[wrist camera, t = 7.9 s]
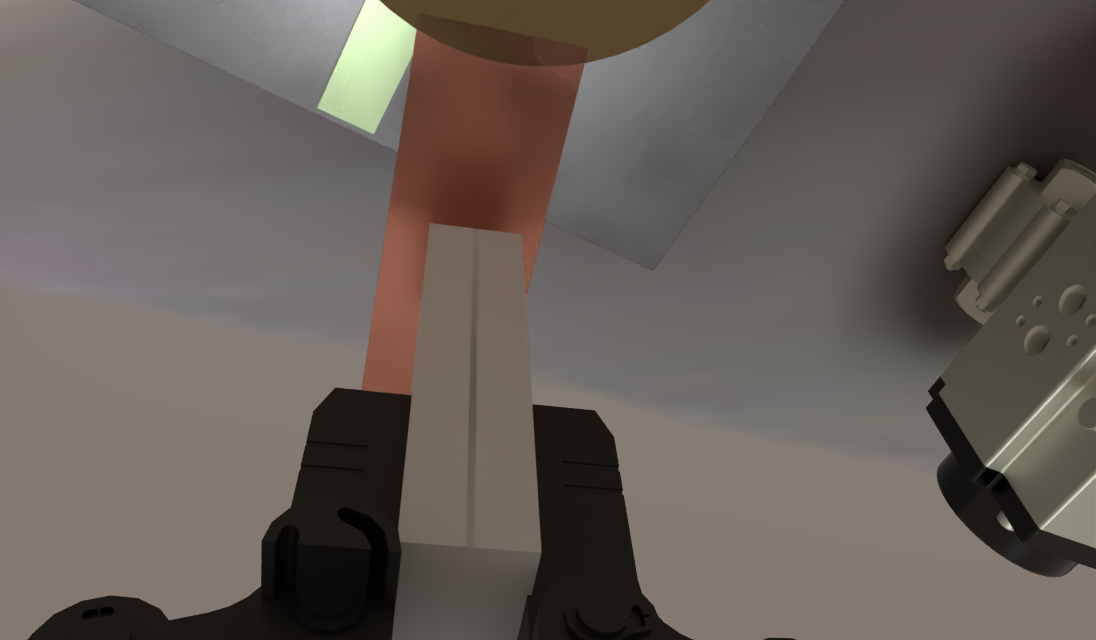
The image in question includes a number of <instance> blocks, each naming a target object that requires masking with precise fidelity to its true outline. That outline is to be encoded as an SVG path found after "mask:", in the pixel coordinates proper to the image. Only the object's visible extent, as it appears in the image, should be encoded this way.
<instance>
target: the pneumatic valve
mask: <svg viewBox="0 0 1096 640" xmlns="http://www.w3.org/2000/svg"><path fill="white" fill-rule="evenodd" d="M1036 174H1037V171H1036V170H1035V169H1034V168H1033V167H1031V166H1030V165H1028V164H1026V163H1024V162H1020V163H1019V164H1018V165H1017V167H1014V168H1013V167H1010V166H1008V167H1007V168H1006V169H1005V171H1004V172H1003V173H1002V175H1001V176H1000V177H999V178H998V180H997V181H996V182H995V184H994V185H993V186H992V187H991V189H990V190H989V191H988V192H987V194H986V195H985V196H984V198H983V199H982V200H981V201H980V203H979V204H978V205H977V207H976V208H975V209H974V210H973V212H972V213H971V214H970V216H969V217H968V218H967V219H966V221H965V222H964V223H963V224H962V226H961V227H960V228H959V230H958V231H957V232H956V233H955V235H954V236H953V237H952V239H951V240H950V241H949V242H948V244H947V245H946V246H945V249H946V251H947V255H946V257H945V258H944V262H945V267H946V268H947V269H948V270H950V271H953V270H954V269H955V270H960V268H961V267H963V269H964V270H965V271H966V273H967V276H966V277H965V278H964V279H963V281H962V282H961V283H960V284H959V285H958V287H957V289H956V291H955V294H954V298H955V301H956V302H957V304H958V305H959V306H960V307H961V308H962V309H963V310H964V311H965V312H966V313H967V314H968V315H970V316H971V317H972V318H973V319H975V320H976V321H978V322H979V323H980V324H982V325H983V327H982V328H981V329H980V330H979V331H978V332H977V334H976V335H975V336H974V337H973V338H972V339H971V341H970V342H969V343H968V344H967V345H966V347H965V348H964V349H963V350H962V351H961V352H960V354H959V355H958V356H957V357H956V358H955V360H954V361H953V362H952V363H951V364H950V365H949V367H948V368H947V369H946V370H945V371H944V373H943V374H942V375H941V376H940V377H939V378H938V380H937V381H936V382H935V383H934V384H933V385H932V387H931V388H930V389H929V390H928V392H929V394H930V395H931V397H932V398H933V400H932V401H931V402H930V403H929V405H928V406H927V407H926V410H927V411H928V413H929V415H930V416H931V418H932V420H933V421H934V423H935V425H936V426H937V428H938V430H939V431H940V433H941V435H942V436H943V438H944V440H945V441H946V443H947V445H948V446H949V448H950V450H951V453H950V454H949V455H948V456H947V457H946V458H945V459H944V460H943V461H942V462H941V464H940V465H939V467H938V470H937V481H938V484H939V487H940V490H941V492H942V494H943V496H944V498H945V499H946V501H947V503H948V504H949V506H950V507H951V508H952V510H953V511H954V512H955V514H956V515H957V516H958V517H959V518H960V520H961V521H962V522H963V523H964V524H965V525H966V526H967V527H968V528H969V529H970V530H971V531H972V532H973V533H974V534H975V535H976V536H977V537H978V538H979V539H980V540H982V541H983V542H984V543H985V544H986V545H988V546H989V547H990V548H991V549H993V550H994V551H996V552H997V553H999V554H1000V555H1001V556H1003V557H1005V558H1006V559H1007V560H1009V561H1011V562H1012V563H1014V564H1016V565H1018V566H1020V567H1022V568H1023V569H1025V570H1028V571H1030V572H1033V573H1035V574H1039V575H1042V576H1047V577H1061V576H1064V575H1066V574H1068V573H1069V572H1070V571H1071V570H1072V569H1073V568H1074V567H1075V566H1076V565H1077V564H1082V565H1085V566H1088V567H1092V568H1094V569H1096V173H1095V172H1093V171H1091V170H1089V169H1088V168H1086V167H1084V166H1082V165H1080V164H1078V163H1076V162H1074V161H1071V160H1069V159H1062V160H1060V161H1059V162H1058V163H1057V164H1056V166H1055V167H1054V168H1053V169H1052V171H1051V172H1050V173H1049V174H1048V176H1047V177H1046V178H1045V179H1044V180H1043V182H1039V181H1037V180H1035V179H1034V178H1033V177H1034V176H1035V175H1036Z"/></svg>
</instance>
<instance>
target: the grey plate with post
mask: <svg viewBox="0 0 1096 640" xmlns="http://www.w3.org/2000/svg"><path fill="white" fill-rule="evenodd" d="M73 1H76V2H78V3H80V4H82V5H84V6H86V7H88V8H91V9H93V10H95V11H97V12H99V13H101V14H103V15H106V16H108V17H110V18H112V19H114V20H116V21H118V22H121V23H123V24H125V25H127V26H129V27H131V28H133V29H136V30H138V31H140V32H142V33H144V34H146V35H148V36H151V37H153V38H155V39H157V40H159V41H161V42H163V43H166V44H168V45H170V46H172V47H174V48H176V49H178V50H181V51H183V52H185V53H187V54H189V55H191V56H193V57H196V58H198V59H200V60H202V61H204V62H206V63H208V64H211V65H213V66H215V67H217V68H219V69H221V70H223V71H225V72H228V73H230V74H232V75H234V76H236V77H238V78H240V79H243V80H245V81H247V82H249V83H251V84H253V85H255V86H258V87H260V88H262V89H264V90H266V91H268V92H270V93H273V94H275V95H277V96H279V97H281V98H283V99H285V100H288V101H290V102H292V103H294V104H296V105H298V106H300V107H303V108H305V109H307V110H309V111H311V112H313V113H315V114H318V115H320V116H322V117H324V118H326V119H328V120H330V121H333V122H335V123H337V124H339V125H341V126H343V127H345V128H348V129H350V130H352V131H354V132H356V133H358V134H360V135H363V136H365V137H367V138H369V139H371V140H373V141H375V142H378V143H380V144H382V145H384V146H386V147H388V148H390V149H393V150H395V151H397V152H398V147H399V141H400V134H401V128H402V121H403V115H404V108H405V101H406V95H407V88H408V82H409V75H410V69H411V62H412V56H413V49H414V42H415V36H416V29H415V28H414V27H412V26H411V25H410V24H408V23H407V22H406V21H404V20H403V19H401V18H400V17H399V16H397V15H396V14H395V13H393V12H392V11H391V10H389V9H388V8H387V7H386V6H385V5H384V4H383V3H382V2H381V1H380V0H73ZM844 1H845V0H710V1H709V2H708V3H706V4H705V5H704V6H703V7H702V8H701V9H700V10H699V11H698V12H696V13H695V14H693V15H692V16H691V17H689V18H688V19H686V20H685V21H684V22H682V23H681V24H679V25H678V26H676V27H675V28H674V29H672V30H670V31H669V32H667V33H665V34H663V35H661V36H659V37H658V38H656V39H654V40H652V41H650V42H648V43H646V44H645V45H642V46H639V47H637V48H634V49H632V50H629V51H627V52H624V53H622V54H619V55H616V56H612V57H609V58H605V59H601V60H597V61H593V62H589V63H585V65H584V69H583V73H582V77H581V81H580V85H579V89H578V93H577V97H576V101H575V104H574V108H573V112H572V116H571V120H570V124H569V128H568V132H567V136H566V140H565V144H564V148H563V152H562V156H561V160H560V164H559V168H558V172H557V176H556V179H555V183H554V187H553V191H552V195H551V199H550V203H549V207H548V211H547V215H546V219H545V221H547V222H549V223H551V224H553V225H555V226H557V227H560V228H562V229H564V230H566V231H568V232H570V233H572V234H575V235H577V236H579V237H581V238H583V239H585V240H587V241H590V242H592V243H594V244H596V245H598V246H600V247H602V248H605V249H607V250H609V251H611V252H613V253H615V254H617V255H620V256H622V257H624V258H626V259H628V260H630V261H632V262H635V263H637V264H639V265H641V266H643V267H645V268H647V269H650V270H652V271H654V269H655V268H656V266H657V265H658V264H659V262H660V261H661V259H662V258H663V257H664V255H665V254H666V252H667V251H668V249H669V248H670V247H671V245H672V244H673V242H674V241H675V240H676V238H677V237H678V235H679V234H680V233H681V231H682V230H683V228H684V227H685V226H686V224H687V223H688V221H689V220H690V218H691V217H692V216H693V214H694V213H695V211H696V210H697V209H698V207H699V206H700V204H701V203H702V202H703V200H704V199H705V197H706V196H707V194H708V193H709V192H710V190H711V189H712V187H713V186H714V185H715V183H716V182H717V180H718V179H719V178H720V176H721V175H722V173H723V172H724V171H725V169H726V168H727V166H728V165H729V163H730V162H731V161H732V159H733V158H734V156H735V155H736V154H737V152H738V151H739V149H740V148H741V147H742V145H743V144H744V142H745V141H746V140H747V138H748V137H749V135H750V134H751V132H752V131H753V130H754V128H755V127H756V125H757V124H758V123H759V121H760V120H761V118H762V117H763V116H764V114H765V113H766V111H767V110H768V109H769V107H770V106H771V104H772V103H773V101H774V100H775V99H776V97H777V96H778V94H779V93H780V92H781V90H782V89H783V87H784V86H785V85H786V83H787V82H788V80H789V79H790V77H791V76H792V75H793V73H794V72H795V70H796V69H797V68H798V66H799V65H800V63H801V62H802V61H803V59H804V58H805V56H806V55H807V54H808V52H809V51H810V49H811V48H812V46H813V45H814V44H815V42H816V41H817V39H818V38H819V37H820V35H821V34H822V32H823V31H824V30H825V28H826V27H827V25H828V24H829V23H830V21H831V20H832V18H833V17H834V15H835V14H836V13H837V11H838V10H839V8H840V7H841V6H842V4H843V3H844Z"/></svg>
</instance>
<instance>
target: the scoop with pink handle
mask: <svg viewBox="0 0 1096 640" xmlns="http://www.w3.org/2000/svg"><path fill="white" fill-rule="evenodd" d="M380 1H381V2H382V3H383V4H384V5H385V6H386V7H387V8H388V9H389V10H391V11H392V12H393V13H395V14H396V15H397V16H399V17H400V18H401V19H403V20H404V21H406V22H407V23H408V24H410V25H411V26H412V27H414V28H415V29H416V36H415V42H414V49H413V56H412V62H411V69H410V75H409V82H408V88H407V95H406V101H405V108H404V115H403V121H402V128H401V134H400V141H399V147H398V154H397V160H396V167H395V174H394V180H393V187H392V193H391V200H390V206H389V213H388V219H387V226H386V232H385V239H384V246H383V252H382V259H381V265H380V272H379V278H378V285H377V291H376V298H375V305H374V311H373V318H372V324H371V331H370V337H369V344H368V351H367V357H366V364H365V371H364V377H363V383H362V390H364V391H375V392H385V393H395V394H405V395H411V388H412V378H413V369H414V359H415V351H416V342H417V333H418V324H419V315H420V306H421V297H422V288H423V279H424V270H425V262H426V253H427V244H428V235H429V226H430V223H433V224H442V225H450V226H458V227H466V228H475V229H483V230H491V231H499V232H508V233H516V234H522V246H523V262H524V278H525V294H527V290H528V286H529V282H530V278H531V274H532V270H533V266H534V262H535V258H536V255H537V251H538V247H539V243H540V239H541V235H542V231H543V227H544V223H545V219H546V215H547V211H548V207H549V203H550V199H551V195H552V191H553V187H554V183H555V179H556V176H557V172H558V168H559V164H560V160H561V156H562V152H563V148H564V144H565V140H566V136H567V132H568V128H569V124H570V120H571V116H572V112H573V108H574V104H575V101H576V97H577V93H578V89H579V85H580V81H581V77H582V73H583V69H584V65H585V63H589V62H593V61H597V60H601V59H605V58H609V57H612V56H616V55H619V54H622V53H624V52H627V51H629V50H632V49H634V48H637V47H639V46H642V45H645V44H646V43H648V42H650V41H652V40H654V39H656V38H658V37H659V36H661V35H663V34H665V33H667V32H669V31H670V30H672V29H674V28H675V27H676V26H678V25H679V24H681V23H682V22H684V21H685V20H686V19H688V18H689V17H691V16H692V15H693V14H695V13H696V12H698V11H699V10H700V9H701V8H702V7H703V6H704V5H705V4H706V3H708V2H709V1H710V0H380Z"/></svg>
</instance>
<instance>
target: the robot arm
mask: <svg viewBox="0 0 1096 640" xmlns="http://www.w3.org/2000/svg"><path fill="white" fill-rule="evenodd" d="M618 467H619V464H618V459H617V452H616V446H615V440H614V436H613V435H612V434H611V432H610V431H609V429H608V428H607V427H606V425H605V424H604V422H603V421H602V420H601V418H600V417H599V416H598V414H597V413H596V411H595V410H584V409H574V408H563V407H554V406H543V405H533V404H532V392H531V375H530V359H529V343H528V327H527V311H526V294H525V278H524V262H523V246H522V234H516V233H508V232H499V231H491V230H483V229H475V228H466V227H458V226H450V225H442V224H433V223H430V226H429V235H428V244H427V253H426V262H425V270H424V279H423V288H422V297H421V306H420V315H419V324H418V333H417V342H416V351H415V359H414V369H413V378H412V388H411V395H405V394H395V393H385V392H375V391H364V390H354V389H344V388H335V389H334V390H333V391H332V392H331V393H330V394H329V395H328V396H327V397H326V398H325V399H324V400H323V402H322V403H321V404H320V405H319V406H318V407H317V408H316V409H315V410H314V411H313V415H312V420H311V424H310V428H309V432H308V437H307V442H306V446H305V450H304V454H303V458H302V462H301V469H300V471H299V475H298V480H297V484H296V488H295V492H294V497H293V501H292V505H291V508H289V509H288V510H287V511H285V512H284V513H283V514H282V515H280V516H279V517H278V518H276V519H275V520H274V521H273V522H272V523H271V525H270V527H269V529H268V530H267V532H266V534H265V536H264V538H263V539H262V563H261V565H262V567H261V569H262V570H261V574H262V575H261V587H260V588H258V589H257V590H256V591H255V592H253V593H252V594H251V595H250V596H248V597H247V598H245V599H243V600H241V601H239V602H237V603H235V604H233V605H231V606H229V607H226V608H222V609H219V610H216V611H212V612H209V613H204V614H199V615H194V616H189V617H184V618H179V619H174V620H168V619H167V617H166V616H165V615H164V613H163V612H162V611H161V610H160V609H159V608H157V607H155V606H153V605H151V604H148V603H147V602H145V601H143V600H140V599H139V598H130V597H120V596H106V597H101V598H95V599H90V600H85V601H81V602H79V603H77V604H75V605H72V606H71V607H68V608H66V609H64V610H62V611H60V612H58V613H56V614H54V615H53V616H52V617H51V618H50V619H48V620H47V621H46V622H45V623H44V624H43V625H42V626H41V627H39V628H38V629H37V630H36V631H35V632H34V633H33V634H32V635H31V636H30V637H29V639H28V640H692V639H690V638H688V637H686V636H684V635H682V634H680V633H678V632H677V631H676V630H674V629H673V628H671V627H670V626H668V625H667V624H665V623H664V622H663V621H662V620H661V619H660V618H659V617H658V615H657V613H656V610H655V608H654V606H653V605H652V604H651V603H650V602H649V600H648V599H647V598H646V597H645V596H644V595H643V594H642V592H641V589H640V586H639V583H638V579H637V573H636V567H635V560H634V554H633V548H632V543H631V536H630V530H629V524H628V519H627V512H626V506H625V500H624V495H622V490H623V488H622V482H621V476H620V472H619V471H618ZM765 640H795V639H792V638H767V639H765Z"/></svg>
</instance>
